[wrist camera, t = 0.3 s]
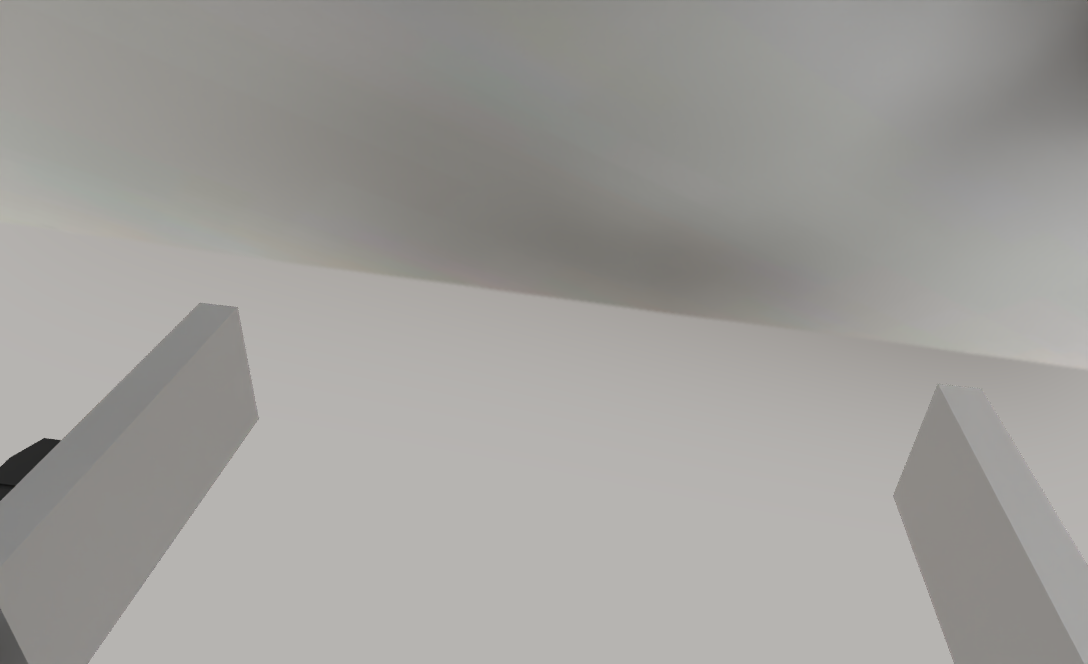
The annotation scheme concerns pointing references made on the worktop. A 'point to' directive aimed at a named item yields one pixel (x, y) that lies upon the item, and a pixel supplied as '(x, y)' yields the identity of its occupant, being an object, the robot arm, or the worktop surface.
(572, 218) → the worktop surface
